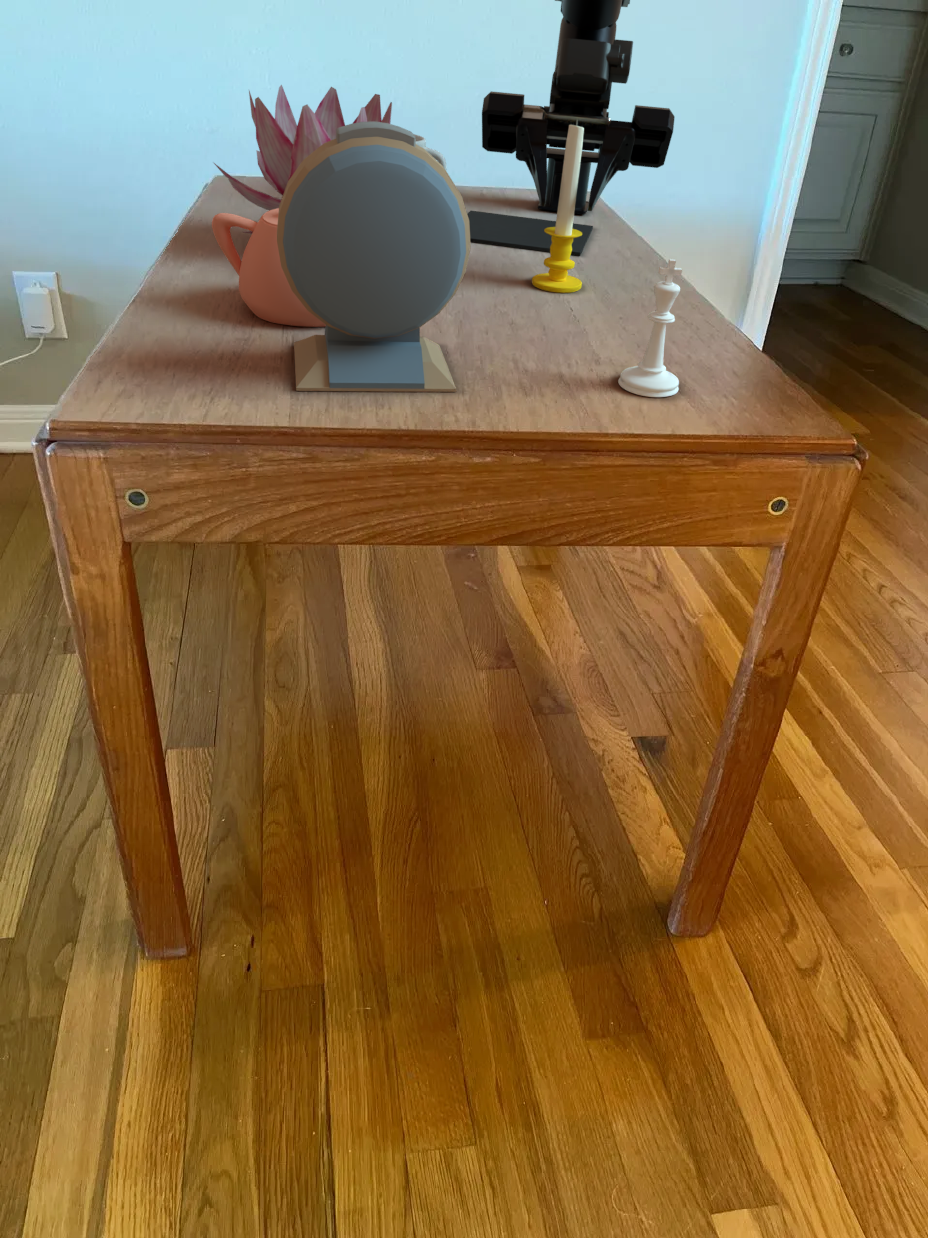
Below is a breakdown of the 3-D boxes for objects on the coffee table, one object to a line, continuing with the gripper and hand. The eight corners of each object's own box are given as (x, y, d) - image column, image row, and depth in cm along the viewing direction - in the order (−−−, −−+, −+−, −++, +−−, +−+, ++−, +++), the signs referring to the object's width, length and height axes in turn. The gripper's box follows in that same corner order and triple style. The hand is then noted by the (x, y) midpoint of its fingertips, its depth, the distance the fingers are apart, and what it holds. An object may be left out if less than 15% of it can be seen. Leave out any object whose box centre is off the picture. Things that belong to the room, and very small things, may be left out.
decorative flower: (182, 258, 97) (166, 92, 89) (280, 217, 114) (274, 74, 106) (374, 292, 93) (377, 120, 84) (447, 244, 109) (456, 96, 101)
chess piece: (612, 373, 79) (633, 249, 74) (669, 375, 80) (694, 252, 74) (625, 396, 75) (648, 267, 70) (685, 398, 76) (713, 270, 70)
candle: (548, 274, 102) (567, 112, 93) (590, 286, 100) (614, 121, 91) (522, 284, 99) (539, 116, 90) (565, 296, 96) (587, 125, 87)
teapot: (231, 282, 92) (223, 176, 86) (416, 296, 93) (420, 192, 87) (202, 323, 82) (192, 206, 77) (410, 338, 83) (415, 223, 77)
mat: (470, 213, 123) (470, 210, 123) (592, 228, 121) (593, 225, 121) (445, 238, 112) (445, 234, 111) (580, 255, 110) (580, 252, 109)
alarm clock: (450, 347, 82) (465, 117, 71) (469, 391, 74) (488, 141, 64) (281, 345, 79) (272, 106, 69) (282, 390, 71) (271, 129, 61)
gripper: (492, -8, 88) (471, 142, 86) (692, 10, 88) (677, 162, 85) (492, 80, 99) (473, 215, 97) (670, 96, 99) (655, 233, 96)
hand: (566, 205), depth 93 cm, fingers open, 4 cm apart
